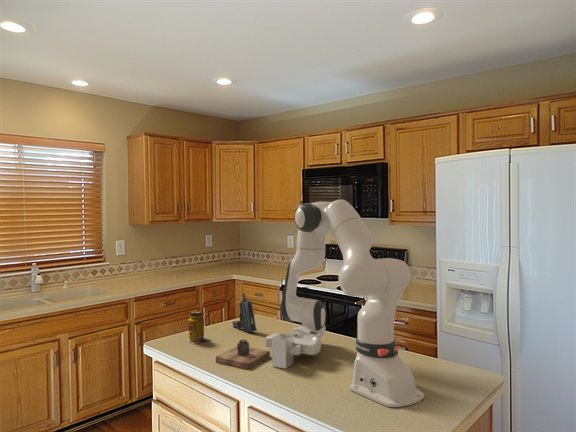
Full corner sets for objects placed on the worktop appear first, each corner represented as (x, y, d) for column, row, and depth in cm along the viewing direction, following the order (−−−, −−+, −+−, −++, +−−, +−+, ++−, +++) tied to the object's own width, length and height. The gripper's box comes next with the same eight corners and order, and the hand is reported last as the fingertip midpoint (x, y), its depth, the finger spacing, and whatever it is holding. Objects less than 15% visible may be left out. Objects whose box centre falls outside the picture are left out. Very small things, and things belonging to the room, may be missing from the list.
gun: (232, 296, 196) (251, 292, 186) (238, 332, 193) (257, 330, 183) (227, 296, 195) (246, 292, 184) (233, 333, 192) (252, 331, 181)
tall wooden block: (293, 363, 146) (293, 335, 146) (285, 369, 142) (285, 339, 141) (280, 361, 149) (280, 333, 149) (272, 366, 144) (272, 337, 144)
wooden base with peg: (269, 356, 154) (269, 337, 154) (248, 369, 142) (248, 349, 142) (239, 350, 161) (238, 332, 161) (215, 362, 148) (215, 342, 148)
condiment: (185, 340, 174) (185, 311, 174) (204, 336, 179) (204, 308, 179) (192, 344, 168) (192, 315, 168) (211, 340, 174) (211, 311, 173)
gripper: (276, 327, 161) (256, 336, 149) (324, 334, 151) (307, 345, 139) (276, 343, 162) (256, 354, 149) (324, 351, 152) (307, 364, 139)
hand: (281, 350), depth 144 cm, fingers closed on tall wooden block, 5 cm apart
